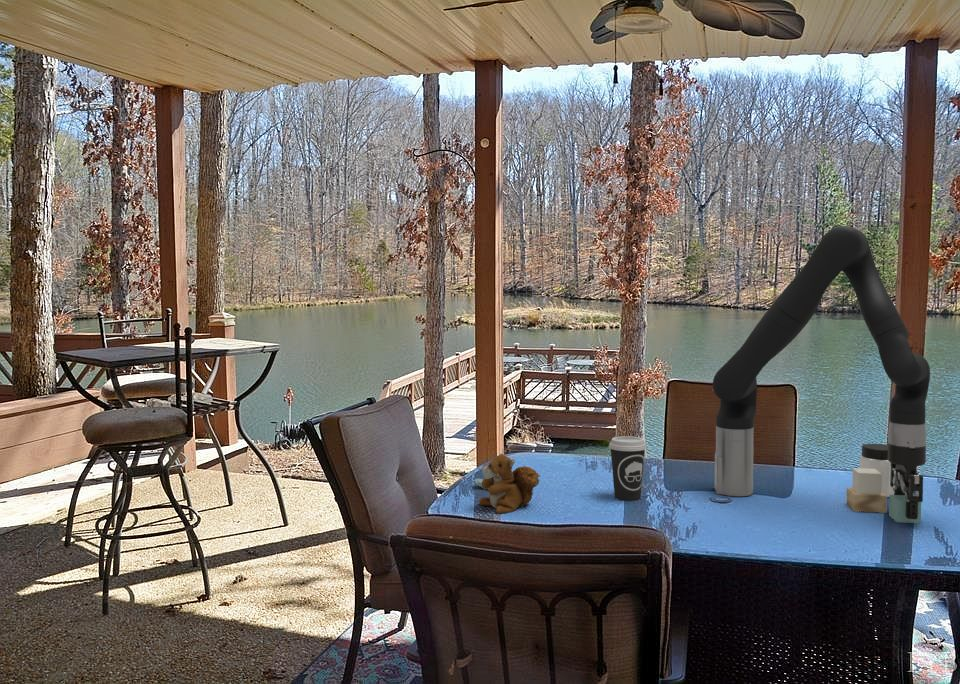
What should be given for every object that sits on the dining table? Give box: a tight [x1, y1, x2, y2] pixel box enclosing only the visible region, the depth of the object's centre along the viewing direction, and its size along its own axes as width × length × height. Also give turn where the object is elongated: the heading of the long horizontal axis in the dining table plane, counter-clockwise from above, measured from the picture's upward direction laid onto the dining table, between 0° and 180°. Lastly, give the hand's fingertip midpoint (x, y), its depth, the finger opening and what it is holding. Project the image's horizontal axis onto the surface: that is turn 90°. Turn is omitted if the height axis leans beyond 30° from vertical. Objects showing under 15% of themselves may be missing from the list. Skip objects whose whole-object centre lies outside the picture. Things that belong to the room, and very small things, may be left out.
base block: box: [845, 486, 888, 514], centre depth 184 cm, size 7×7×4 cm
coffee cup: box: [608, 435, 648, 502], centre depth 196 cm, size 10×10×15 cm
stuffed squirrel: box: [478, 453, 541, 515], centre depth 189 cm, size 10×14×13 cm
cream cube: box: [851, 467, 882, 495], centre depth 183 cm, size 5×5×5 cm
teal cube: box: [888, 495, 922, 524], centre depth 175 cm, size 5×5×5 cm
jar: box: [859, 443, 894, 498], centre depth 197 cm, size 9×8×12 cm
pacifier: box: [474, 465, 493, 490], centre depth 207 cm, size 7×6×6 cm
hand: (905, 513), depth 175 cm, fingers open, 7 cm apart
